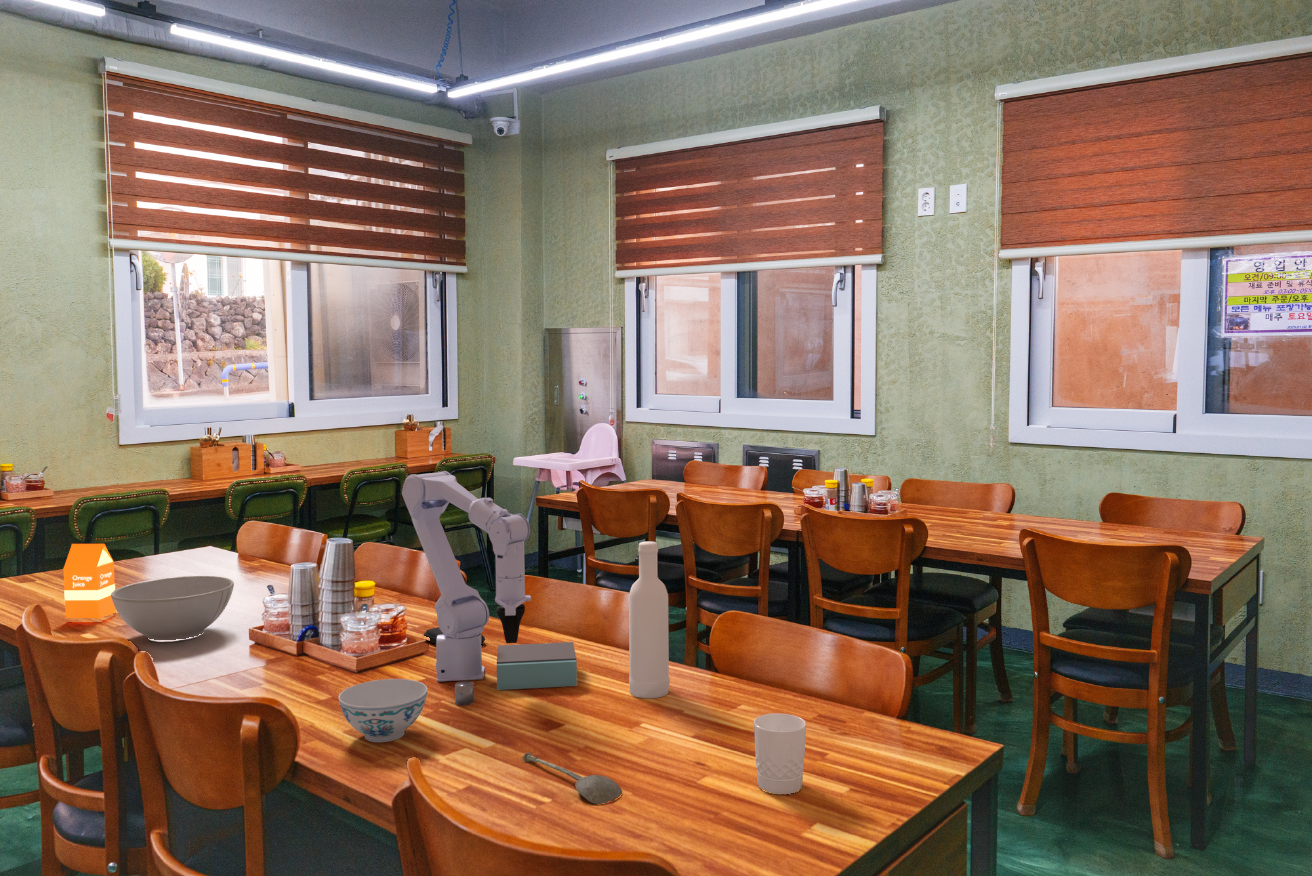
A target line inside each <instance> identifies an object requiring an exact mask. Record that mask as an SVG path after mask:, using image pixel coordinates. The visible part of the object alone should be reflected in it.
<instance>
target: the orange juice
mask: <svg viewBox="0 0 1312 876" xmlns="http://www.w3.org/2000/svg"><path fill="white" fill-rule="evenodd" d="M114 562H115V561H114V560H113V558H112V556H111V554H110V552H109V551H108V549H107V546H106V544H105V543H71V546H70V549H69V552H68V555H67V558H66V559H65V564H64V566H63V582H64V584H63V587H64V590H63V591H64V605H65V606H64V607H65V608H64V609H65V610H64V611H65V619H66V618H98V619H100V618H103V617H104V616H108V615H111V614H113V613H116V614H117V610H116V608H115V606H114V604H113V601H112V598H111V593H112V592H113V591H114V590H116V583H115V565H114V564H115V563H114Z"/></svg>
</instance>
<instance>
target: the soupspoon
mask: <svg viewBox="0 0 1312 876" xmlns="http://www.w3.org/2000/svg"><path fill="white" fill-rule="evenodd" d="M522 760H523V762H524V761H525V762H527V763H528V762H530V761H531V762H532V763H537V764H538V763H539V764H541V765H544V766H546V767H549V768H551V769H553V770H556V771H558V772H560V773H563V774H564V775H567V776H568V777H571V778H573V780H576V782H575V784H574V785H575V786H574V787H575V788H576V789H575V790H576V791H577V792H578V794H580V795H581V796H582V797H583V798H585V800H587V801H588V802H589V803H592V804H594V805H597V804H602V803H607V802H608V801H614V800H615V799H616V798H618V797H619V796H620V795H621V794H622V792H623V790H622V788H621V786H620V785H619V784H618V783H617V782H616V781H615V780H613V779H611V778H610V777H607V776H605V775H600V774H599V775H598V774H592V775H591V774H590V775H586V776H581V775H579V774H578V773H575V772H574V771H571V770H570V769H567V768H564V767H563V766H559V765H557V764H554V763H552V762H549V761H547V760H543V759H542V758H541V759H540V758H539V757H538V756H534V755H532V753H531V752H526V753H524V754H522ZM531 762H530V763H531ZM614 802H615V801H614Z"/></svg>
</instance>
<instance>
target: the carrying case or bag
mask: <svg viewBox="0 0 1312 876" xmlns="http://www.w3.org/2000/svg"><path fill="white" fill-rule="evenodd" d="M437 635H443V633H442V631H441V630H440V628H439V626H437V627H433V628H428V629H426V631H425V632H424V634H423V637H424V636H426V637H429V638H430V642H429V643H431V644H433V643H434V645H436V641H437ZM485 640H486V638H485V636H484V635H483V634H482V633H481V644H482V645H483V644H484V642H485Z"/></svg>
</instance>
